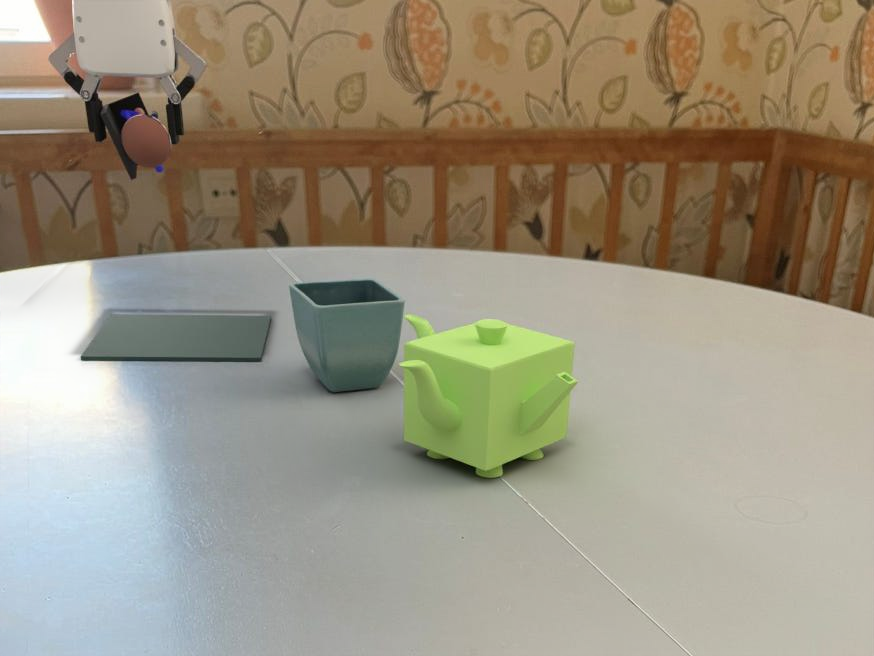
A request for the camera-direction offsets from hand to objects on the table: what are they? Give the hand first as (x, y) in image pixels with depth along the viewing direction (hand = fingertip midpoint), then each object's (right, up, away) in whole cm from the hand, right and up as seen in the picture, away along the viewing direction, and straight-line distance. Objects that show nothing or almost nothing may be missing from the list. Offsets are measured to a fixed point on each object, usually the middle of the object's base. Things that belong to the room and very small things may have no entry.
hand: (138, 140), depth 116 cm
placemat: (+6, -23, -3) cm, 24 cm away
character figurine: (0, -3, +2) cm, 4 cm away
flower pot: (+25, -31, -13) cm, 42 cm away
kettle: (+38, -40, -27) cm, 61 cm away
